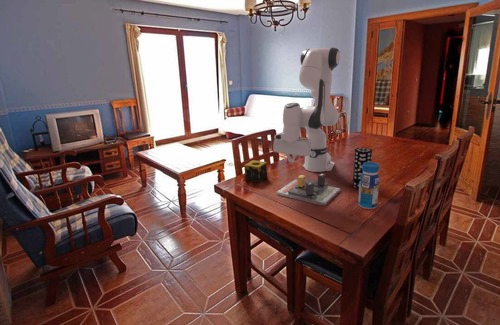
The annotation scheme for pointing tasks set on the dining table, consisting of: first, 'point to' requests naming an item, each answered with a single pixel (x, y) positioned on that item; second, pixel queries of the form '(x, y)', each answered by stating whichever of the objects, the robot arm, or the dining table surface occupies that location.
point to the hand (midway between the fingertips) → (291, 162)
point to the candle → (256, 171)
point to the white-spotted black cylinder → (360, 163)
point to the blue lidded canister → (369, 185)
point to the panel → (318, 197)
